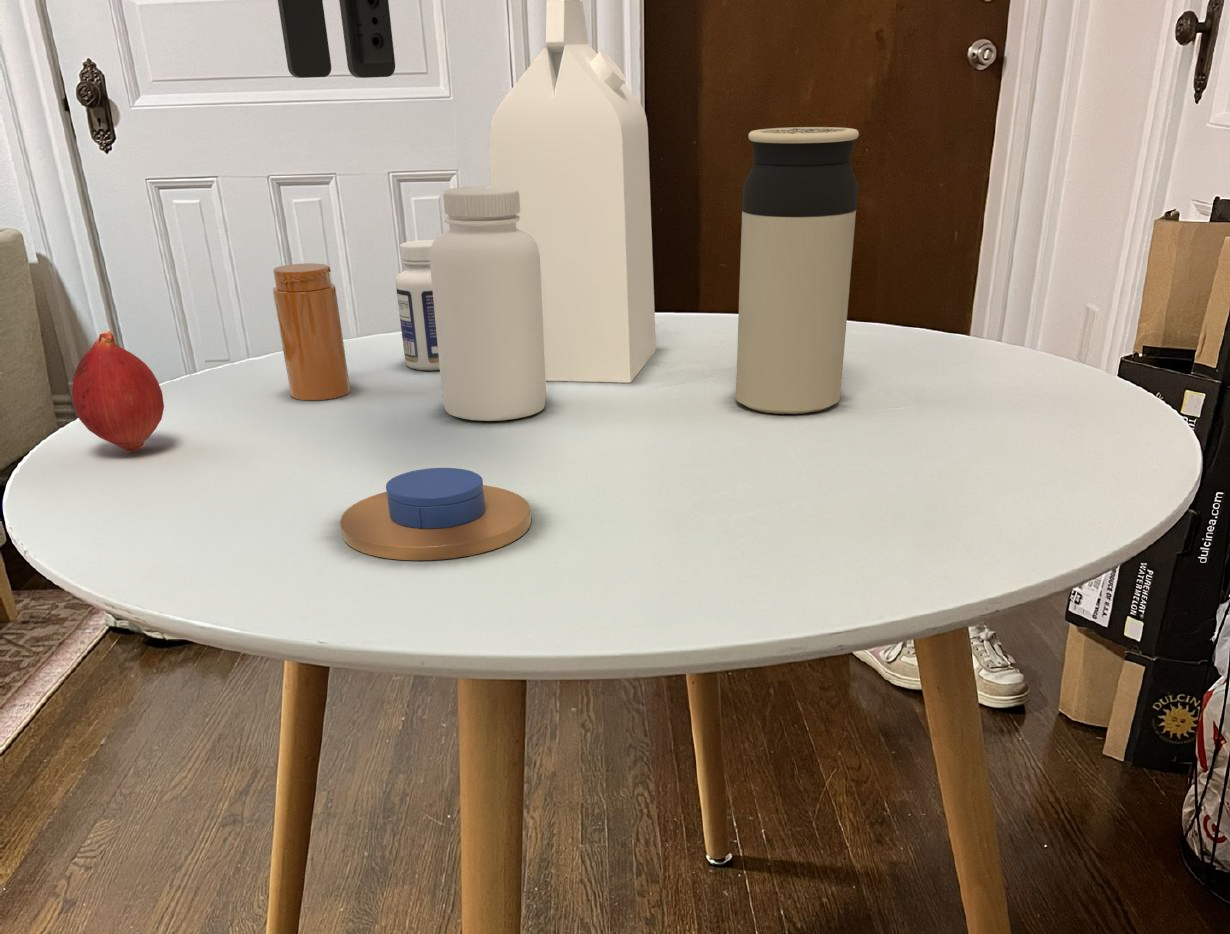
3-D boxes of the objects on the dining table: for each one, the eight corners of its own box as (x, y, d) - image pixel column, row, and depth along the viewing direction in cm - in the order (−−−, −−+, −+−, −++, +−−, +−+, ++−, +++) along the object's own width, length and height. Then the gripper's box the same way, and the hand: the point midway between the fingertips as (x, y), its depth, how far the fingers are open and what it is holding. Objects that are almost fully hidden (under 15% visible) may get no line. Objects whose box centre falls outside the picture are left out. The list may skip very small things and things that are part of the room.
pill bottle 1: (475, 358, 104) (464, 238, 98) (454, 372, 99) (442, 247, 94) (418, 356, 105) (405, 237, 99) (396, 370, 100) (381, 247, 95)
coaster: (388, 576, 61) (386, 562, 61) (314, 519, 69) (312, 506, 68) (566, 533, 66) (565, 519, 66) (478, 484, 74) (477, 471, 73)
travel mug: (845, 415, 85) (870, 132, 75) (737, 416, 86) (748, 135, 76) (833, 388, 92) (854, 125, 82) (733, 389, 92) (742, 128, 82)
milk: (533, 348, 107) (513, 5, 92) (655, 350, 105) (654, -1, 90) (496, 379, 97) (467, 1, 83) (630, 382, 95) (624, -5, 80)
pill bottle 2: (568, 410, 88) (558, 188, 80) (478, 430, 84) (458, 198, 76) (511, 391, 93) (497, 181, 85) (425, 409, 90) (400, 190, 81)
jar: (301, 403, 92) (280, 274, 87) (283, 391, 95) (261, 266, 90) (358, 394, 94) (341, 268, 89) (338, 383, 97) (320, 260, 92)
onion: (88, 468, 79) (54, 344, 74) (88, 446, 83) (55, 328, 79) (177, 457, 80) (148, 335, 76) (172, 436, 85) (144, 319, 80)
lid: (466, 532, 64) (463, 500, 63) (374, 526, 65) (369, 495, 64) (497, 499, 69) (495, 469, 68) (410, 495, 70) (406, 465, 69)
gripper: (430, -398, 47) (467, 75, 56) (307, -316, 57) (355, 74, 66) (250, -427, 44) (321, 81, 53) (153, -334, 54) (226, 79, 63)
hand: (340, 77), depth 59 cm, fingers open, 8 cm apart
